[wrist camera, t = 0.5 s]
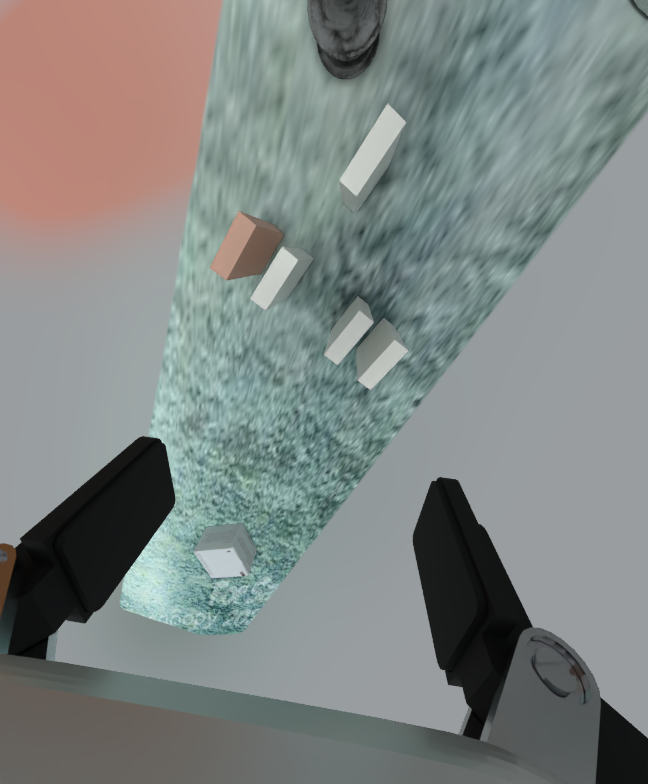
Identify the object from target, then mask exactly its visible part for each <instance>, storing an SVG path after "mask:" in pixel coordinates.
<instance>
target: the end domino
mask: <svg viewBox="0 0 648 784" xmlns="http://www.w3.org/2000/svg"><path fill="white" fill-rule="evenodd" d="M283 236H284V234H283V233H282V232H281V231H280V230H279V229H278V228H276V227H275V226H274V225H273V224H271V223H268V222H266V221H263V220H261V219H258V218H256V217H253V216H250V215H248V214H245V213H243V212H240V211H238V213H237V215H236V217H235V219H234V221H233V223H232V225H231V227H230V229H229V231H228V233H227V235H226V237H225V239H224V241H223V243H222V245H221V247H220V248H219V250H218V252H217V254H216V256H215V258H214V260H213V262H212V264H211V266H210V268H211V269H212V270H213V271H215V272H216V273H217V274H218V275H220V276H221V277H222V278H224V279H225V280H231V279H236V278H241V277H246V276H251V275H257V274H261V273H262V271H263V269H264V268H265V266H266V264H267V263H268V261H269V259H270V258H271V256H272V254H273V253H274V251H275V249H276V248H277V246H278V244H279V243H280V241H281V239H282V238H283Z"/></svg>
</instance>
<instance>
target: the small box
mask: <svg viewBox="0 0 648 784" xmlns="http://www.w3.org/2000/svg"><path fill="white" fill-rule="evenodd" d="M256 551H257V549H256V547H255V545H254V543H253V541H252V540H251V538H250V536H249V534H248V532H247V530H246V528H245V526H244V524H243V523H238V524H228V525H219V526H209V527H206V529H205V531H204V533H203V535H202V537H201V539H200V541H199V543H198V544H197V546H196V548H195V550H194V553H195V554H196V556H197V557H198V559H199V560H200V561H201V563H202V564H203V566H204V567H205V569H206V570H207V572H208V573H209V575H210V576H211V578H221V577H234V576H247V575H249V572H250V569H251V566H252V563H253V560H254V557H255V554H256Z"/></svg>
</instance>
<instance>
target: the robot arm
mask: <svg viewBox="0 0 648 784" xmlns="http://www.w3.org/2000/svg"><path fill="white" fill-rule="evenodd" d="M634 2H635V3H636V5H637V7H638V8H640V9H641V10H642V11H643V12H644V13H645V14H646V15H647V16H648V0H634ZM174 504H175V493H174V488H173V483H172V478H171V472H170V467H169V462H168V457H167V451H166V446H165V444H163V443H162V442H161V440H160V439H158V438H151V437H144V436H142V437H140V438H138V439H137V440H135V441H134V442H133V443H132V444H131V445H130V446H128V447H127V448H126V449H125V450H124V451H122V452H121V453H120V454H119V455H118V456H117V457H116V458H114V459H113V460H112V461H111V462H110V463H108V464H107V465H106V466H105V467H104V468H102V469H101V470H100V471H99V472H98V473H97V474H95V475H94V476H93V477H92V478H91V479H89V480H88V481H87V482H86V483H85V484H84V485H82V486H81V487H80V488H79V489H78V490H77V491H75V492H74V493H73V494H72V495H71V496H69V497H68V498H67V499H66V500H65V501H64V502H62V503H61V504H60V505H59V506H58V507H56V508H55V509H54V510H53V511H52V512H51V513H49V514H48V515H47V516H46V517H45V518H44V519H42V520H41V521H40V522H39V523H38V524H37V525H35V526H34V527H33V528H32V529H31V530H29V531H28V532H27V533H26V534H25V535H24V536H22V537H21V538H20V540H21V543H20V544H19V545H18V546H17V547H16V548H14V547H13V546H12V545H8V544H5V543H4V544H0V784H648V738H647V737H646V736H644V735H643V734H642V733H641V732H640V731H639V730H637V729H636V728H635V727H634V726H633V725H632V724H631V723H629V722H628V721H627V720H626V719H625V718H624V717H622V716H621V715H620V714H619V713H618V712H617V711H616V710H614V709H613V708H612V707H611V706H610V705H609V704H608V703H606V702H605V701H604V700H603V699H602V698H601V697H600V691H599V688H598V686H597V683H596V681H595V678H594V676H593V674H592V673H591V671H590V670H589V668H588V667H587V665H586V663H585V662H584V661H583V659H582V658H581V657H580V656H579V655H578V654H577V653H576V652H575V650H574V649H572V648H571V647H570V646H569V645H568V644H567V643H566V642H565V641H563V640H562V639H561V638H559V637H558V636H556V635H554V634H553V633H551V632H549V631H546V630H544V629H541V628H533V626H532V624H531V622H530V620H529V618H528V616H527V614H526V612H525V610H524V608H523V606H522V604H521V601H520V600H519V597H518V596H517V593H516V591H515V589H514V587H513V585H512V583H511V581H510V579H509V577H508V575H507V573H506V570H505V568H504V566H503V564H502V562H501V560H500V558H499V556H498V554H497V552H496V550H495V548H494V546H493V543H492V541H491V539H490V537H489V535H488V533H487V531H486V530H485V528H484V527H483V526H482V525H480V524H478V522H477V520H476V518H475V516H474V514H473V511H472V509H471V507H470V505H469V503H468V500H467V498H466V496H465V494H464V492H463V490H462V488H461V486H460V483H459V482H458V480H456V479H449V478H442V477H440V478H438V479H437V481H432V482H431V485H430V487H429V490H428V493H427V496H426V499H425V502H424V504H423V507H422V510H421V513H420V516H419V519H418V522H417V524H416V527H415V530H414V533H413V546H414V551H415V556H416V560H417V565H418V570H419V575H420V580H421V585H422V589H423V595H424V600H425V604H426V609H427V614H428V619H429V623H430V628H431V633H432V638H433V643H434V648H435V653H436V658H437V662H438V665H439V667H440V669H442V670H445V673H446V677H447V682H448V685H453V686H459V687H463V691H464V695H465V699H466V703H467V704H468V706H469V708H468V711H467V713H466V716H465V718H464V721H463V724H462V726H461V729H460V732H459V734H454V733H450V732H445V731H440V730H436V729H431V728H426V727H421V726H416V725H411V724H406V723H401V722H396V721H392V720H387V719H382V718H375V717H370V716H365V715H359V714H354V713H349V712H343V711H338V710H332V709H326V708H321V707H315V706H310V705H304V704H299V703H293V702H288V701H282V700H277V699H271V698H266V697H260V696H254V695H249V694H242V693H237V692H231V691H226V690H220V689H214V688H208V687H203V686H197V685H192V684H185V683H180V682H174V681H168V680H163V679H157V678H151V677H145V676H139V675H134V674H127V673H122V672H115V671H110V670H104V669H98V668H92V667H85V666H80V665H74V664H69V663H63V662H55V661H54V660H55V652H56V642H57V632H58V629H59V627H60V626H61V625H62V624H63V622H64V621H65V620H68V621H74V622H79V623H86V622H87V620H88V619H89V618H90V616H91V615H92V614H93V612H96V611H97V610H99V609H100V608H101V607H102V606H103V605H104V604H105V602H106V601H107V600H108V598H109V597H110V595H111V594H112V593H113V591H114V590H115V588H116V587H117V586H118V584H119V583H120V581H121V580H122V579H123V577H124V576H125V574H126V573H127V572H128V570H129V569H130V567H131V566H132V565H133V563H134V562H135V560H136V559H137V558H138V556H139V555H140V553H141V552H142V551H143V549H144V548H145V546H146V545H147V544H148V542H149V541H150V539H151V538H152V537H153V535H154V534H155V532H156V531H157V530H158V528H159V527H160V525H161V524H162V523H163V521H164V520H165V518H166V517H167V516H168V514H169V513H170V511H171V510H172V508H173V507H174Z"/></svg>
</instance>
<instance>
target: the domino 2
mask: <svg viewBox="0 0 648 784" xmlns="http://www.w3.org/2000/svg"><path fill="white" fill-rule="evenodd" d="M405 124H406V122H405V121H404V120H403V119H402V118H401V117H400V116H399V115H398V113H397V112H396V111H395V110H394V109H393V108H392V107H391V106H390V105H389V104H387V105H386V107H385V109H384V110H383V112H382V113H381V115H380V116H379V118H378V120H377V121H376V123H375V124H374V126H373V128H372V129H371V131H370V132H369V134H368V136H367V137H366V139H365V140H364V142H363V143H362V145H361V147H360V148H359V150H358V151H357V153H356V155H355V156H354V158H353V159H352V161H351V162H350V164H349V166H348V167H347V169H346V170H345V172H344V174H343V175H342V177H341V178H340V180H339V182H340V188H341V193H342V199H343V204H344V205H345V206H346V207H348V208H349V209H350V210H351V211H352V212H353V213H354V214H356V213H357V212H358V210H359V209H360V207H361V206H362V204H363V203H364V201H365V200H366V198H367V197H368V195H369V194H370V193H371V191H372V190H373V188H374V187H375V185H376V184H377V182H378V181H379V179H380V178H381V177H382V175H383V174H384V172H385V171H386V169H387V168H388V166H389V164H390V162H391V159H392V157H393V154H394V151H395V149H396V146H397V144H398V141H399V139H400V136H401V134H402V131H403V129H404V126H405Z"/></svg>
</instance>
